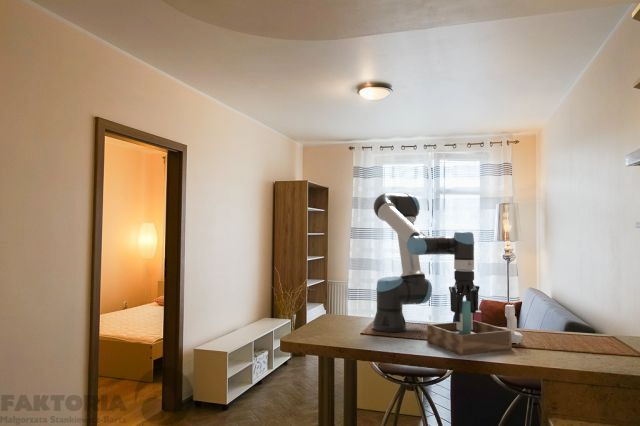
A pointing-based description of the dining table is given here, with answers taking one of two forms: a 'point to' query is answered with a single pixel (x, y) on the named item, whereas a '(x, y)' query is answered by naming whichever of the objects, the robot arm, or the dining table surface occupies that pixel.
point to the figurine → (512, 323)
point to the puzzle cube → (477, 316)
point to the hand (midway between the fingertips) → (464, 329)
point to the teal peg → (466, 318)
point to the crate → (469, 338)
